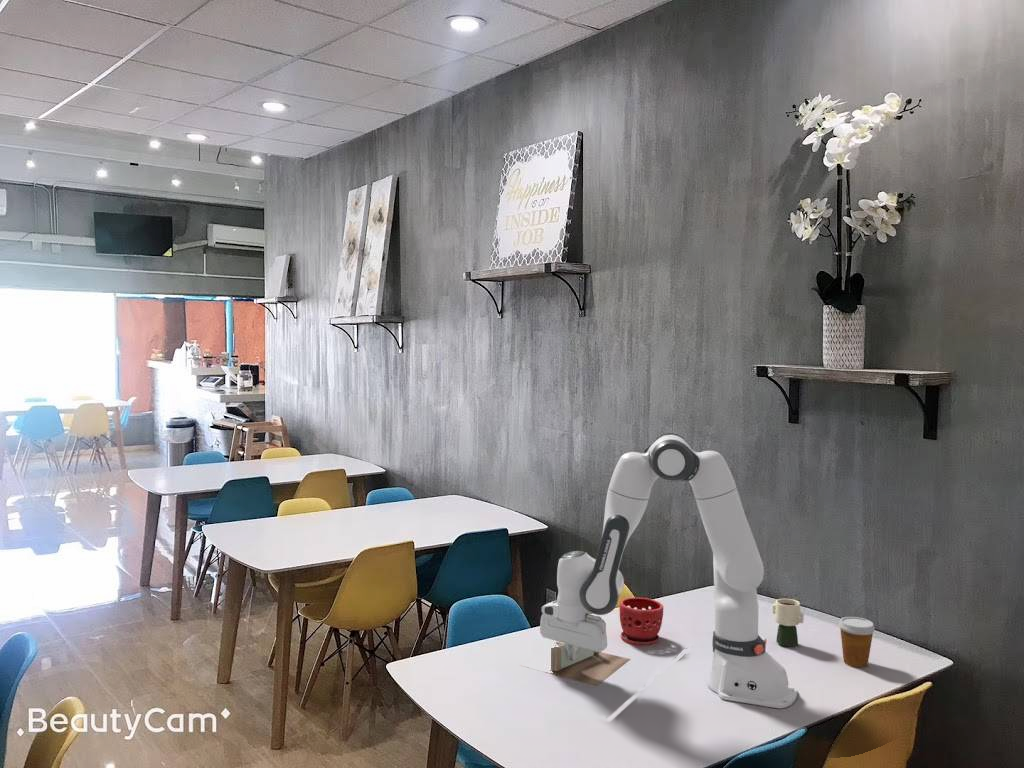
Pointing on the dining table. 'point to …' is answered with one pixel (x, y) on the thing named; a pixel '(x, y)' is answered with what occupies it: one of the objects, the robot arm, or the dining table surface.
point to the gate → (566, 657)
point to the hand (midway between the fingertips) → (573, 659)
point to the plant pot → (640, 620)
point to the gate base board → (592, 668)
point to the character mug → (787, 620)
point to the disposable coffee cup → (856, 640)
